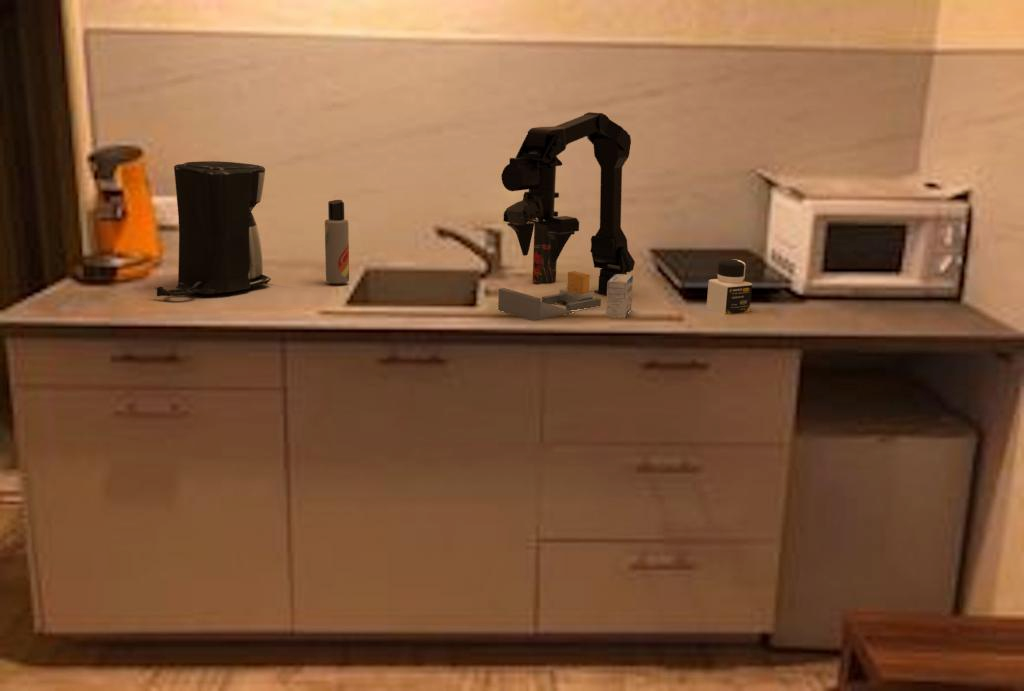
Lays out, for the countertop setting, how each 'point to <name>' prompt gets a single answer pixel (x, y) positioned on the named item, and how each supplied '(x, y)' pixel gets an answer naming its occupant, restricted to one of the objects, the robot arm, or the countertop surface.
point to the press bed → (538, 305)
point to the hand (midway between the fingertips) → (539, 258)
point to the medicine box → (619, 295)
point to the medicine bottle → (729, 289)
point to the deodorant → (543, 256)
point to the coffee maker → (217, 227)
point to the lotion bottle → (336, 244)
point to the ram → (576, 288)
